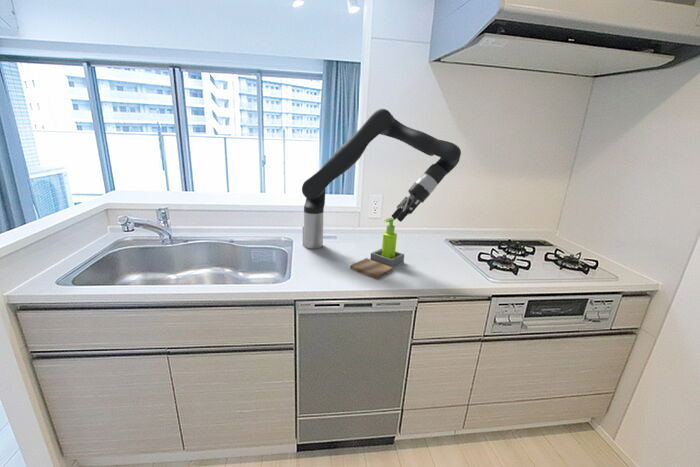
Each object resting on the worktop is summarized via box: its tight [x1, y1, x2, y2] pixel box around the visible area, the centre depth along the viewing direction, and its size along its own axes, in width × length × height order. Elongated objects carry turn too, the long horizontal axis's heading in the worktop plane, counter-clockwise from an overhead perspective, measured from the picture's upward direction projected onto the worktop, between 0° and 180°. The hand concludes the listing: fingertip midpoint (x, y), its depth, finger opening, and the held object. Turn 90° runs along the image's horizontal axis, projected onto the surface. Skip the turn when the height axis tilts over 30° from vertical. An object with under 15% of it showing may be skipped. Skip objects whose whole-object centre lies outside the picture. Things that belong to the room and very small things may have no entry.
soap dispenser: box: [381, 217, 398, 259], centre depth 137 cm, size 6×7×20 cm
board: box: [349, 257, 394, 280], centre depth 132 cm, size 14×11×2 cm
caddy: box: [369, 248, 405, 269], centre depth 140 cm, size 11×10×4 cm
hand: (395, 219), depth 126 cm, fingers open, 8 cm apart
